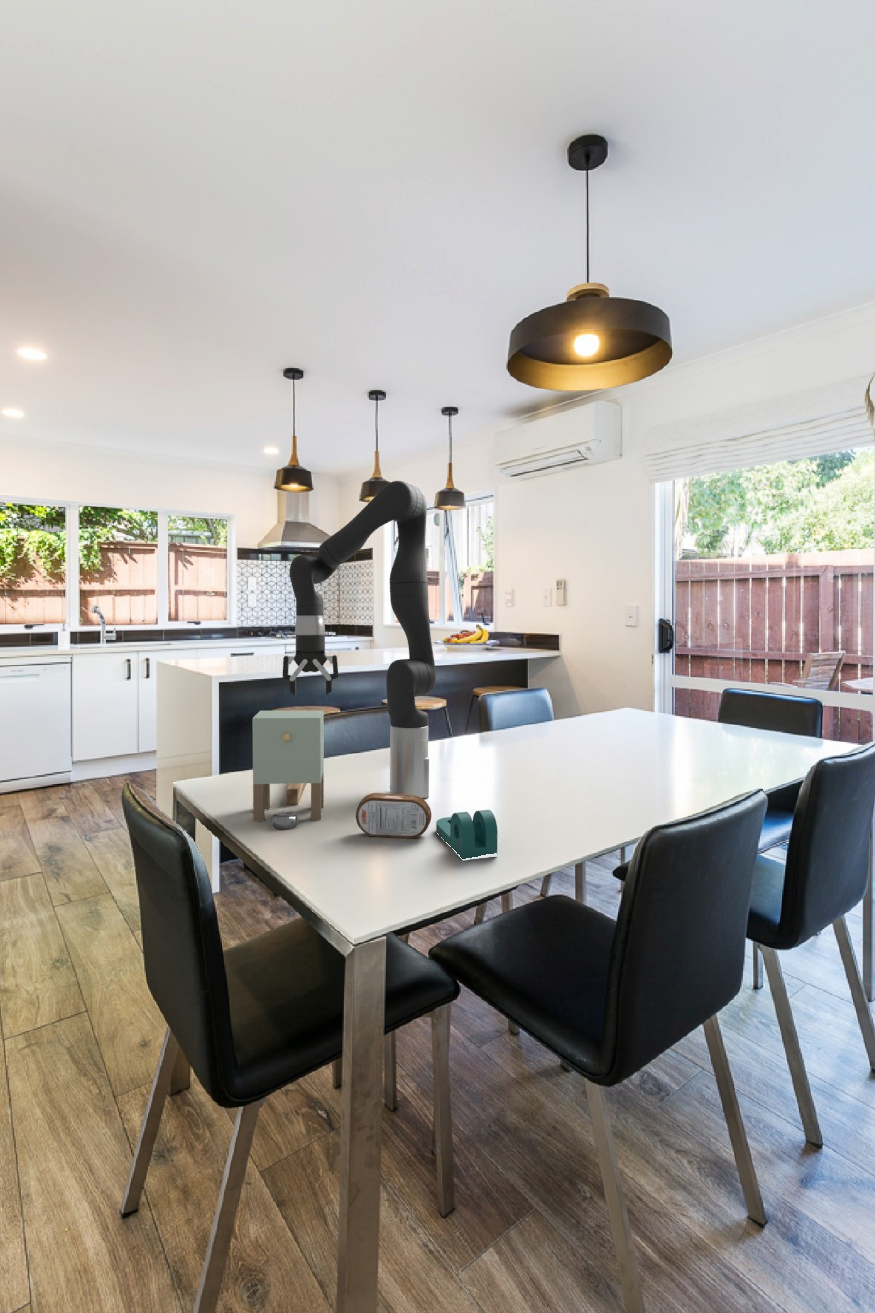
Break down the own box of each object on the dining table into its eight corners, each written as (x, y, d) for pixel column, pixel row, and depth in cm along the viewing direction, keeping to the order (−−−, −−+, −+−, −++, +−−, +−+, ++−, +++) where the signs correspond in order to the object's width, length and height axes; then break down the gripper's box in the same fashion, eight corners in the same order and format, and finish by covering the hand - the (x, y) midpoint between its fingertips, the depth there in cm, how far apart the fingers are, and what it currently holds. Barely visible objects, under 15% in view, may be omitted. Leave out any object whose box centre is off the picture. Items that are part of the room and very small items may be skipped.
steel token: (299, 822, 135) (299, 811, 135) (295, 830, 130) (295, 819, 130) (275, 822, 134) (275, 811, 134) (270, 831, 129) (270, 819, 129)
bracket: (497, 858, 117) (497, 816, 116) (462, 862, 115) (463, 819, 114) (462, 826, 134) (462, 789, 133) (431, 829, 132) (432, 792, 131)
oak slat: (308, 779, 170) (308, 764, 169) (297, 806, 146) (297, 789, 146) (299, 779, 170) (299, 764, 169) (286, 806, 146) (286, 789, 146)
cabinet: (323, 805, 146) (323, 710, 144) (320, 821, 135) (320, 718, 133) (261, 807, 144) (260, 710, 143) (252, 823, 133) (251, 719, 132)
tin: (431, 835, 128) (431, 794, 127) (429, 841, 125) (430, 798, 124) (357, 832, 129) (357, 791, 129) (354, 837, 126) (354, 795, 125)
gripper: (338, 632, 171) (338, 693, 172) (283, 633, 169) (284, 694, 170) (337, 633, 163) (338, 696, 164) (280, 633, 162) (281, 697, 162)
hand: (311, 695), depth 167 cm, fingers open, 8 cm apart
